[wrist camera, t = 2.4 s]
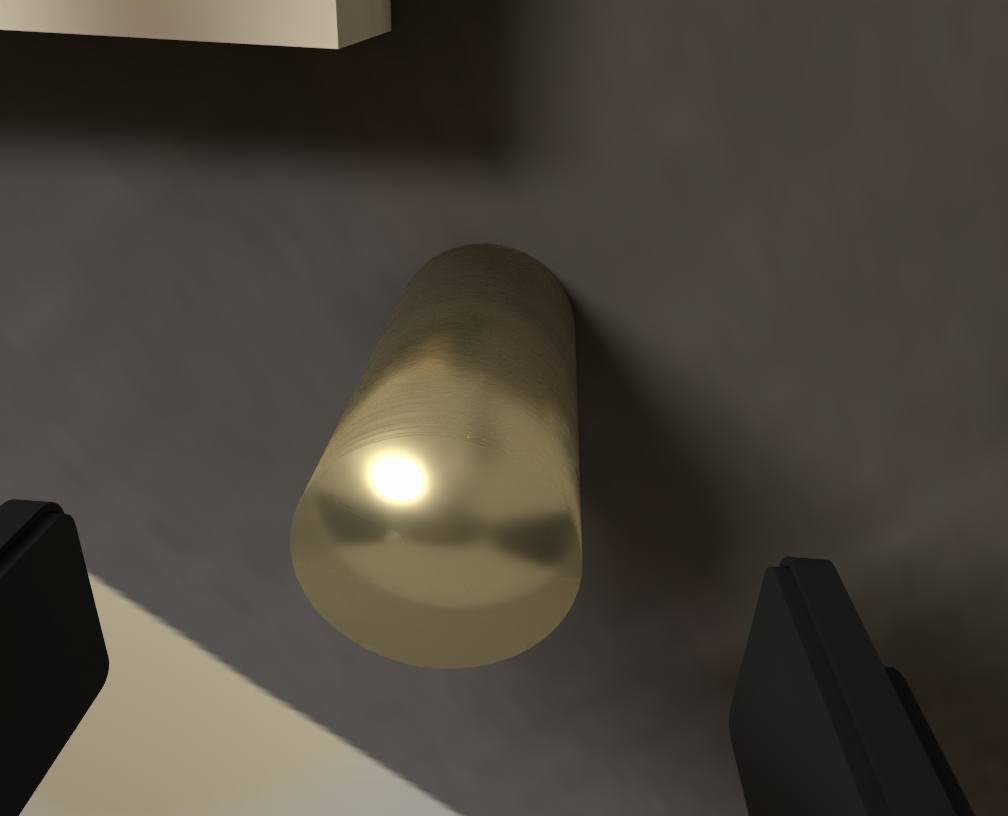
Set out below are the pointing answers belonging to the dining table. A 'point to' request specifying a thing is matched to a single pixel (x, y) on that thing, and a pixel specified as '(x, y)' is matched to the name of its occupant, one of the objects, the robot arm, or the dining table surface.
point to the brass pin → (453, 472)
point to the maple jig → (207, 20)
